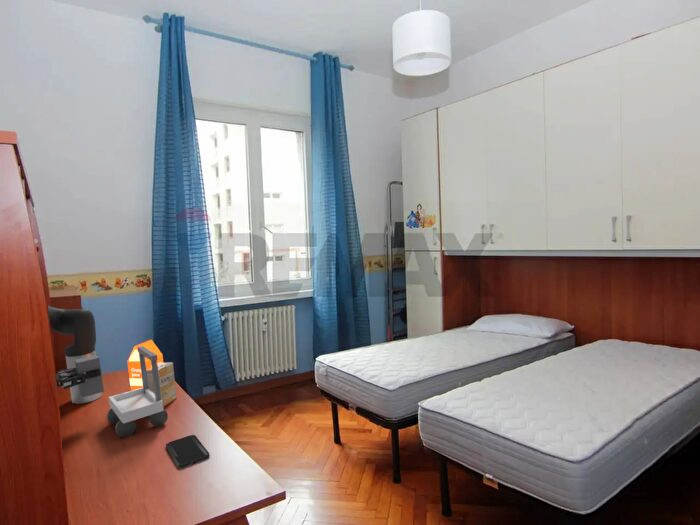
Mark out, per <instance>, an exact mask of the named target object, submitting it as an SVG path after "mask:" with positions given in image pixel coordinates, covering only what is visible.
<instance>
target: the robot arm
mask: <svg viewBox="0 0 700 525" xmlns="http://www.w3.org/2000/svg"><path fill="white" fill-rule="evenodd" d="M48 312H49V318H50V325H51V330H50V331H53V332H56V333H58V334H60V335H65V336H73V343H72V344H70V345H67V346H66V347H65V348H64V355H65V360H66V362H65V363H66V369H59V370H58V371H57V373H56V379H57V387H56V388H60V387H61V388H63V389H65V390H66V389H69V390H70V391H69V392H70V397H71V403H72V404H74V403H75V404H76V405H79V404H80V405H81V404H86V403H90V402H93V401H96V400H98V399H99V398H101V397H102V392H101V393H97V394H94V395H90V396H86V397H83V398H82V397H81V395H80V392H79V386H78V384H81V383H85V382H86V380H87V379H90V378H94V377H98V376H100V375H101V374H102V370H101V371H100V369H95V370H91V371H87V372H82V373H78V372H77V371H76V365H75V360H77V359H81V358H86V357H90V356H94V355H97V352H96V343H97V334H96V332H97V331H96V330H97V329H96V321H95V316H94V314H93V312H92V310H89V309H88V308H74V309H73V308H72V309H65V308H64V309H63V308H57V307H53V306H49V305H48ZM78 378H81V379H78ZM75 404H74V405H75Z"/></svg>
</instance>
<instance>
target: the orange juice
mask: <svg viewBox="0 0 700 525" xmlns="http://www.w3.org/2000/svg"><path fill="white" fill-rule="evenodd" d="M140 346H144V347H145V348H147V349H148V350H150V351H152V352H153V353H155V354H156V355H157V359H158V360H157V365H158V364H160V363H164V358H163V357H164V356H163V353H162V352H161V351H160V349H159V347H158V346H157V345H156V344H155V343H154V341H153V340H152V339H149V340H146V341H145V342H141V343H139V344H137V345H134V347H133V349H132V351H131V353H130V355H129V357H128V359H127V370H128V377H129V378H128V379H129V385H130V391H132V390H135V389H139V388H143V382H142V374H141V366H140V358H139V352H138V348H137V347H140ZM145 362H146V370H148V369H150V368H152V365H151V361H150V360H149V359H147V358H146V357H145Z"/></svg>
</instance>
